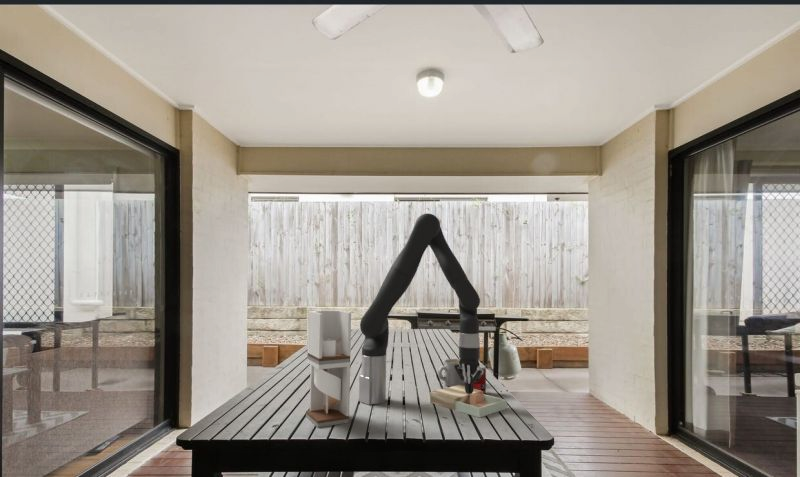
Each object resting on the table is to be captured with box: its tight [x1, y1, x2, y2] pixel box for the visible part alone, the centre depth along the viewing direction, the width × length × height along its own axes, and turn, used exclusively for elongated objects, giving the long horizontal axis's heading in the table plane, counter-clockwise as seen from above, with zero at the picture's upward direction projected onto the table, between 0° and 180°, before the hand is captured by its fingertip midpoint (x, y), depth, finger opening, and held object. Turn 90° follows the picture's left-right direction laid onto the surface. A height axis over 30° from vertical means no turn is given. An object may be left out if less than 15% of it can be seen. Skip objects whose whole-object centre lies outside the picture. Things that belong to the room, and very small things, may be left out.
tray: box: [454, 393, 508, 418], centre depth 165 cm, size 16×11×3 cm
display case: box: [305, 309, 352, 428], centre depth 153 cm, size 11×11×35 cm
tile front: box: [476, 401, 492, 407], centre depth 163 cm, size 5×5×2 cm
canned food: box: [473, 364, 487, 395], centre depth 186 cm, size 8×8×11 cm
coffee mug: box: [437, 358, 465, 387], centre depth 200 cm, size 13×10×10 cm
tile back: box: [470, 392, 484, 406], centre depth 167 cm, size 5×5×2 cm
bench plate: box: [429, 385, 483, 411], centre depth 173 cm, size 16×12×4 cm
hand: (469, 393), depth 169 cm, fingers closed
